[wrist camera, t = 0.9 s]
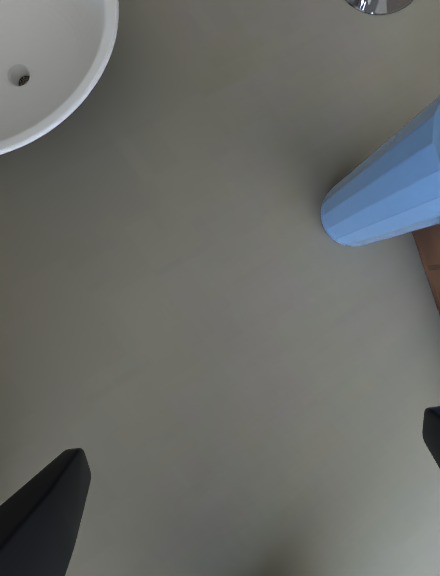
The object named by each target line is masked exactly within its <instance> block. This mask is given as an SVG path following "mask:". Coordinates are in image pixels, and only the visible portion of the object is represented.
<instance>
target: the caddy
mask: <svg viewBox="0 0 440 576" xmlns="http://www.w3.org/2000/svg"><path fill="white" fill-rule="evenodd" d="M412 233H413V236H414V239H415V242H416V245H417V248H418V251H419V254H420V257H421V260H422V263H423V266H424V269H425V272H426V275H427V278H428V281H429V284H430V287H431V290H432V293H433V296H434V299H435V302H436V305H437V308H438V311H439V314H440V223H439V224H436V225H432V226H429V227H425V228H422V229H418V230H415V231H412Z"/></svg>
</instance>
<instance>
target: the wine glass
mask: <svg viewBox="0 0 440 576" xmlns="http://www.w3.org/2000/svg"><path fill="white" fill-rule="evenodd" d="M346 1H347V2H348V3H349V4H350V5H352V6H353V7H355V8H356V9H358V10H360V11H363V12H365V13H369V14H375V15H384V14H390V13H394V12H397V11H399V10H401V9H403V8H405V7H406V6H407V5H409V4H410V3H411V2H412V1H413V0H346Z"/></svg>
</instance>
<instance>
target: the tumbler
mask: <svg viewBox="0 0 440 576" xmlns="http://www.w3.org/2000/svg"><path fill="white" fill-rule="evenodd" d="M321 221H322V224H323V227H324V229H325V231H326V232H327V233H328V235H329V236H330V237H331V238H332V239H333V240H335V241H336V242H338V243H340V244H342V245H346V246H363V245H366V244H370V243H373V242H377V241H380V240H384V239H387V238H391V237H394V236H398V235H401V234H405V233H408V232H411V231H415V230H418V229H422V228H425V227H429V226H432V225H436V224H439V223H440V96H439V97H438V98H436V99H435V100H434V101H433V102H432V103H431V104H429V105H428V106H427V107H426V108H425V109H424V110H422V111H421V112H420V113H419V114H418V115H417V116H416V117H414V118H413V119H412V120H411V121H410V122H409V123H407V124H406V125H405V126H404V127H403V128H402V129H400V130H399V131H398V132H397V133H396V134H395V135H393V136H392V137H391V138H390V139H389V140H388V141H386V142H385V143H384V144H383V145H382V146H381V147H379V148H378V149H377V150H376V151H375V152H374V153H373V154H371V155H370V156H369V157H368V158H367V159H366V160H364V161H363V162H362V163H361V164H360V165H359V166H357V167H356V168H355V169H354V170H353V171H352V172H350V173H349V174H348V175H347V176H346V177H345V178H343V179H342V180H341V181H340V182H339V183H338V184H337V185H335V186H334V187H333V188H332V189H331V190H330V191H329V192H328V193H327V195H326V196H325V198H324V200H323V203H322V206H321Z"/></svg>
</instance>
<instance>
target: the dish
mask: <svg viewBox="0 0 440 576" xmlns="http://www.w3.org/2000/svg"><path fill="white" fill-rule="evenodd" d="M118 21H119V1H118V0H0V155H1V154H4V153H7V152H10V151H12V150H15V149H18V148H20V147H22V146H24V145H26V144H28V143H31V142H33V141H34V140H36V139H38V138H39V137H41V136H43V135H45V134H46V133H48V132H49V131H50V130H52V129H53V128H55V127H56V126H57V125H59V124H60V123H61V122H62V121H64V120H65V119H66V118H67V117H68V116H69V115H70V114H71V113H72V112H73V111H74V110H75V109H76V108H78V106H79V105H80V104H81V103H82V102H83V101H84V100H85V98H86V97H87V96H88V95H89V93H90V92H91V91H92V89H93V88H94V86H95V85H96V83H97V82H98V80H99V78H100V77H101V75H102V73H103V71H104V69H105V67H106V65H107V63H108V61H109V58H110V56H111V53H112V50H113V47H114V43H115V40H116V35H117V29H118ZM23 76H30V78H29V81H28V82H27V83H26V84H25V85H23V86H19V80H20V78H21V77H23Z"/></svg>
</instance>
